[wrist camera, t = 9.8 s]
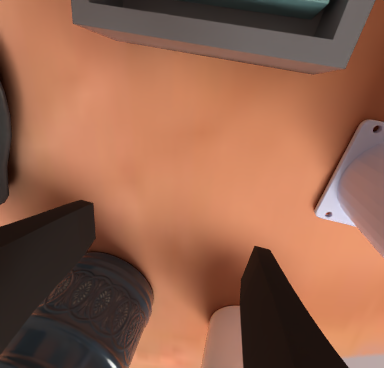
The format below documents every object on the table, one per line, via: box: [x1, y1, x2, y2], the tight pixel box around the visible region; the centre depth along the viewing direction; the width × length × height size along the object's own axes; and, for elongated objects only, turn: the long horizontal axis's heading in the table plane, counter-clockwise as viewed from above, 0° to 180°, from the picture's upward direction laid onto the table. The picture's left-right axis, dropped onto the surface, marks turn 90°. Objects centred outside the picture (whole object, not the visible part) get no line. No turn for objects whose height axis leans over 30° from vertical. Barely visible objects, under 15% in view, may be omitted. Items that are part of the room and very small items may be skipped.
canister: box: [0, 252, 153, 368], centre depth 20 cm, size 13×13×18 cm
